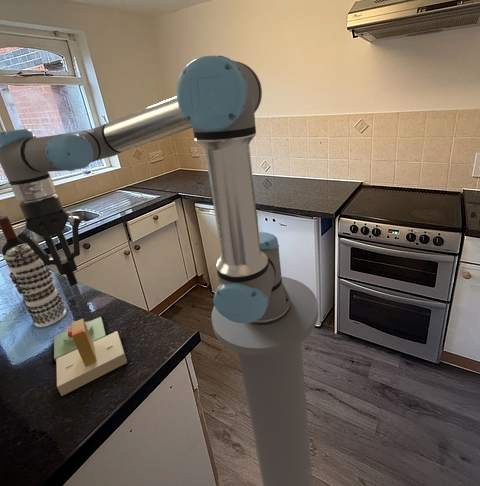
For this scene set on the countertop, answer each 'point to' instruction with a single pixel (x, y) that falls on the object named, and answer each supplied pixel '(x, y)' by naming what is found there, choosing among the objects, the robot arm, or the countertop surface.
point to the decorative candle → (35, 285)
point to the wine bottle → (9, 235)
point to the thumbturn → (83, 342)
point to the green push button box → (67, 344)
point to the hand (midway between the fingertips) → (73, 282)
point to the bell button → (70, 331)
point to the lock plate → (78, 374)
